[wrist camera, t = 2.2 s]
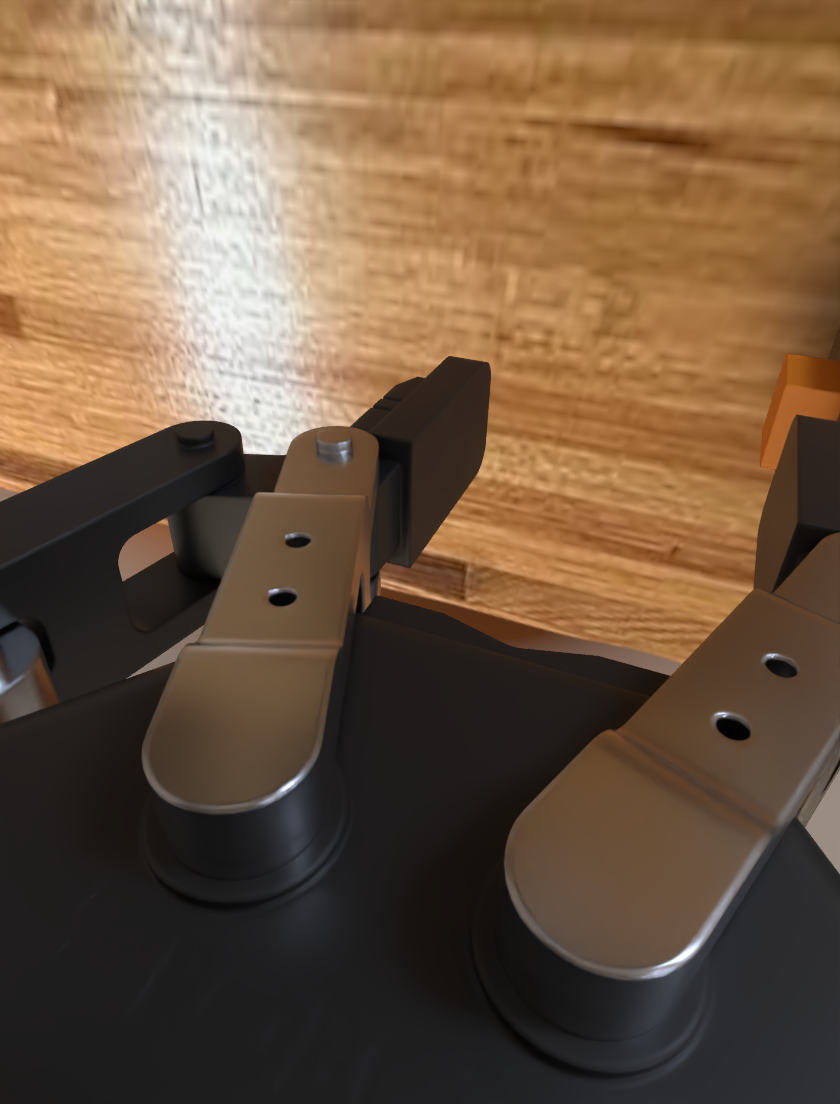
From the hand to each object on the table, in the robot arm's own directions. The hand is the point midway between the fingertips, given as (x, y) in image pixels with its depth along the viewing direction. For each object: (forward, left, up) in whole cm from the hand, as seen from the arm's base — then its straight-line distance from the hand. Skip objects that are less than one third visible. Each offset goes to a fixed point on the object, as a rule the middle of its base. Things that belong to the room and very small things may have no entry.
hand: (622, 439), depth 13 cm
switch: (+5, -7, -22) cm, 23 cm away
